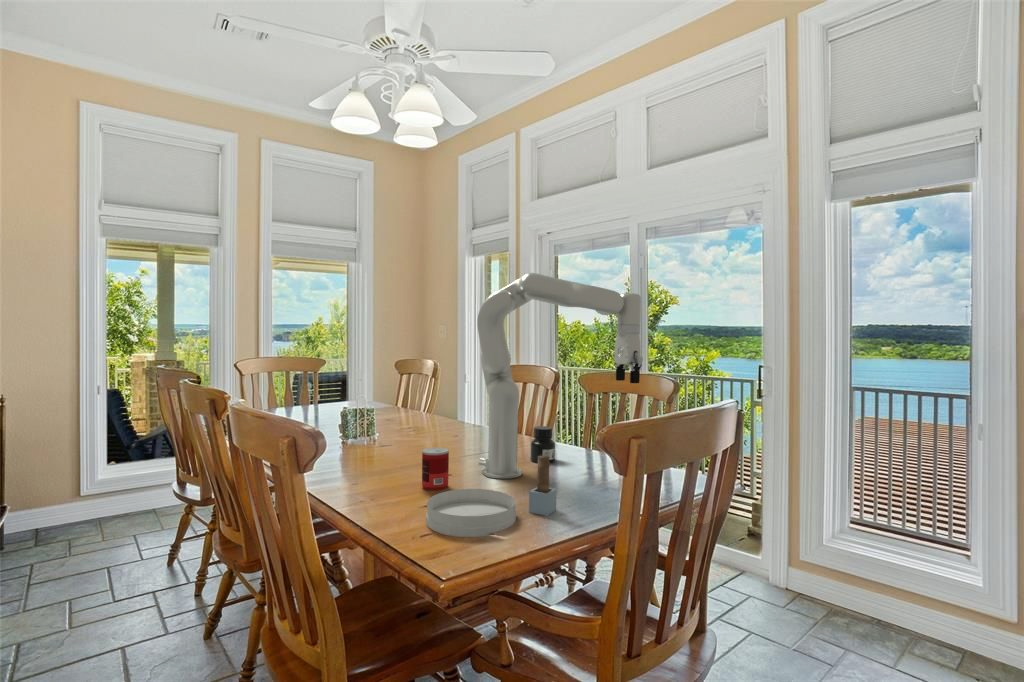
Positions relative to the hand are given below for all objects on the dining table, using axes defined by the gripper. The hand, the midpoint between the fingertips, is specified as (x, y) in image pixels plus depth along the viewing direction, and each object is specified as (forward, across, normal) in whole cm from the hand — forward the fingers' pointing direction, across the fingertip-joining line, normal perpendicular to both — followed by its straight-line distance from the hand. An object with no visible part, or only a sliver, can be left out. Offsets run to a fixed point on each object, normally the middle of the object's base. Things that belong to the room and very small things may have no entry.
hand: (627, 381), depth 183 cm
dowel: (+30, +32, -41) cm, 60 cm away
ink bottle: (+31, -22, -21) cm, 44 cm away
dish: (+31, +32, -60) cm, 75 cm away
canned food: (+31, +2, -64) cm, 71 cm away
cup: (+31, +32, -41) cm, 61 cm away
